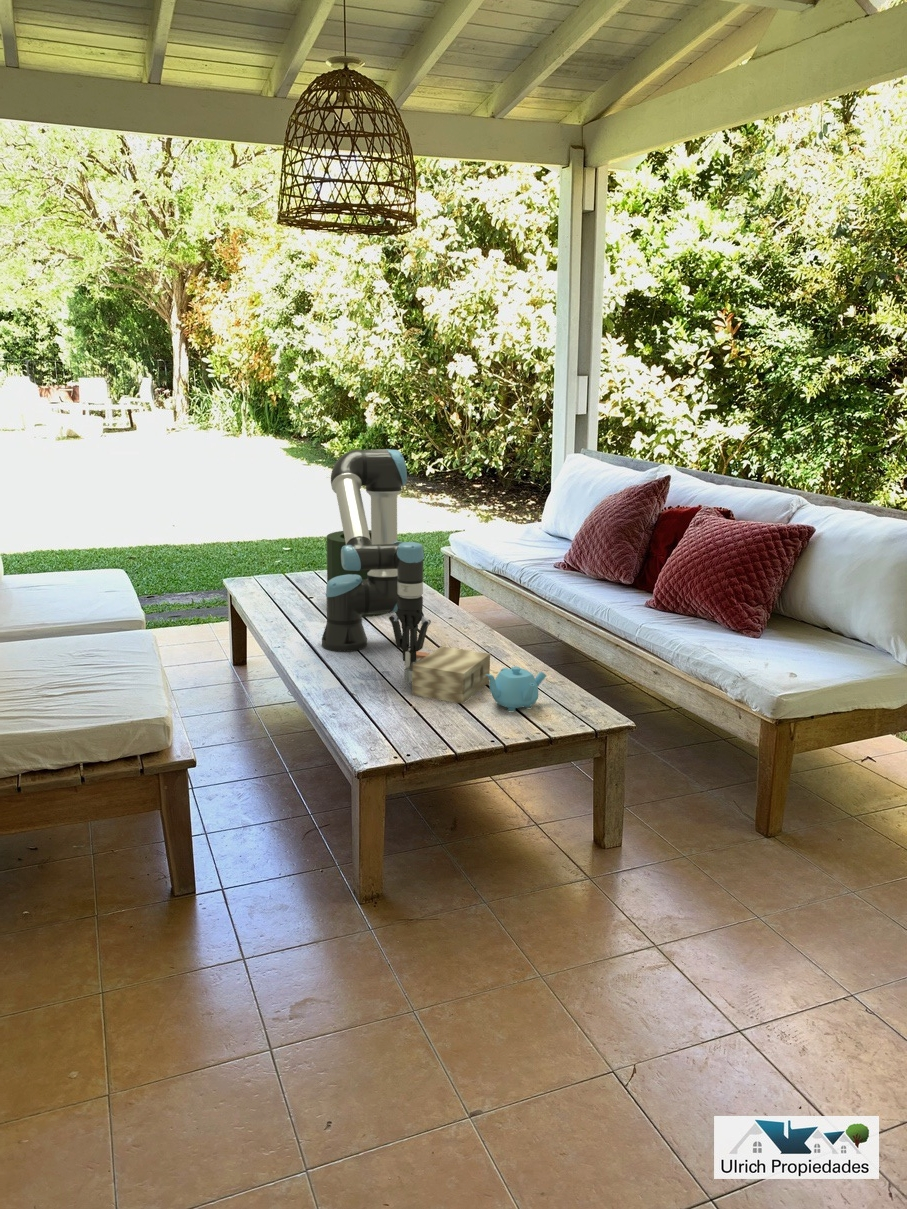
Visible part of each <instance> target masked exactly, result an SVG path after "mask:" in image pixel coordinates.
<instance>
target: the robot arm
mask: <svg viewBox="0 0 907 1209" xmlns="http://www.w3.org/2000/svg"><path fill="white" fill-rule="evenodd" d="M407 471H408V470H407V466H406V461H405V458H404V456H403V454H402V452H401V451H400V450H398V449H390V448H386V449H385V448H382V449H380V448H379V449H377V448H376V449H351V450H349V451H347V452H345V453H344V454H343V455H341V456H340V457H339V458H338V459H337V460H336V461H335V463H334V464H333V467H332V470H331V474H330V484H331V489H332V491H333V492H334V494H335V495H336V499H337V504H338V505H337V506H338V510H339V514H340V515H339V516H340V520H341V526H342V531H343V532H344V537H345V542H346V546H343V547H342V549H341V563H342V567H343V569H344V570H349V571H359V570H370V571H369V572H368V573H367V579H362V578H361V576H360V575H356V574H354V575H352V574H348V575H341V576H337V577H334V578H332V579H330V580H329V581H328V583H327V582H326V591H325V592H326V593H325V598H326V625H325V627H324V631H323V634H322V637H321V646H322V648H324V649H325V650H328V651H333V652H354V651H359V650H363V649H364V648H366V647H367V646H368V638H367V635H366V631H365V628H364V625H363V617H362V614H376V613H388V614H392V613H393V614H392V615H391V616H389V617H388V619H389V621H390V624H391V626H392V631H393V635H394V640H395V644H396V648H397V649H400V650H402V661H404V666H405V668H404V670H405V669H406V668H407V667H409V666H410V665H412V666H413V661H415V660H416V652H417V651H420V650H422V649H423V648H424V643H425V639H426V635H427V631H428V627H429V626H430V625H431V623H432V620H431V619H427V618H426V617H425V615H424V612H423V608H424V597H423V594H424V558H425V554H424V546H423V544H422V543H420V542H416V541H407V542H406V541H401V540H398V496H399V495H400V493H402V486H406V484H407V482H408V480H407V479H408V474H407V473H408V472H407ZM362 487H365V492H366V493H367V494H368V495H369V497H370V526H371V527H370V530H371V540H370V535H369V527H368V521H367V515H366V511H365V507H364V503H363V502H364V501H363V497H362V493H361V488H362ZM394 613H395V614H394ZM420 622H421V623H420ZM400 623H401V624H400ZM419 624H420V625H421V626H420V628H419ZM418 629H419V633H418Z"/></svg>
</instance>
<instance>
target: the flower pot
mask: <svg viewBox="0 0 907 1209" xmlns="http://www.w3.org/2000/svg"><path fill="white" fill-rule="evenodd" d="M368 530H369V529H368ZM369 535H370V540H371V529H370V530H369ZM343 546H346V542H345V537H344V532H343V530H339V531H333V532H331V533H330V532H329V534H327V535H326V574H327V575H326V584H327V583H328V581H329V580H330V579H332V578H334V577H337V576H341V575H348V574H352V575H354V574H356V575H360V576H361V578H362V579H367V573H368V572H369V571H370V570H359V571H349V570H344V569H343V567H342V563H341V549H342V547H343ZM388 614H389V613H376V614H362V618H370V617H371V618H372V617H379V616H383V615H388Z"/></svg>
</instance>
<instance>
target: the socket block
mask: <svg viewBox="0 0 907 1209" xmlns="http://www.w3.org/2000/svg"><path fill="white" fill-rule="evenodd" d="M429 653H430V654H429V655H427V656H426V657H424V658H423V659H421V660H420V661H418V662H417V663H415V664H414V665H413V670H412V682H411V683H412V687H411V689H412V690H411V692H412V694H411V695H412V696H418V697H423V698H428V699H435V700H441V701H445V702H451V703H456V704H462V705H463V704H464V703H466V702H467V701H468V700H470V699H471V698H472V697H473V696H474V695H476V694H477V693H478V692H479V691H481V690H482V689H483V688H484V687H485V686H486V685H489V684H490V680H489V678H488V676H486V675H485V674H489V675H491V673H490V670H491V669H490V668H491V653H487V652H481V651H474V650H470V649H469V650H468V649H462V648H454V647H449V646H448V647H447V646H440V647H438V648H436V649H435V650H434V651H432V652H429Z"/></svg>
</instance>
